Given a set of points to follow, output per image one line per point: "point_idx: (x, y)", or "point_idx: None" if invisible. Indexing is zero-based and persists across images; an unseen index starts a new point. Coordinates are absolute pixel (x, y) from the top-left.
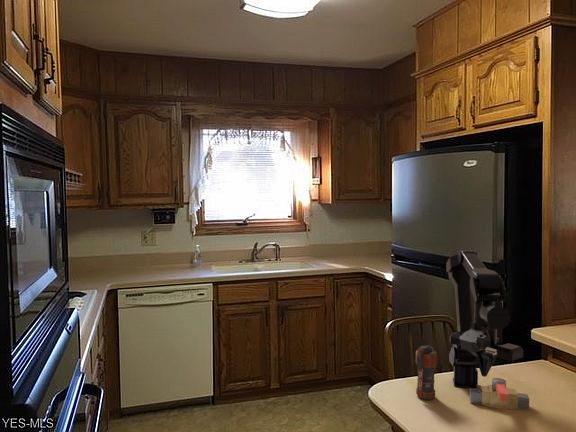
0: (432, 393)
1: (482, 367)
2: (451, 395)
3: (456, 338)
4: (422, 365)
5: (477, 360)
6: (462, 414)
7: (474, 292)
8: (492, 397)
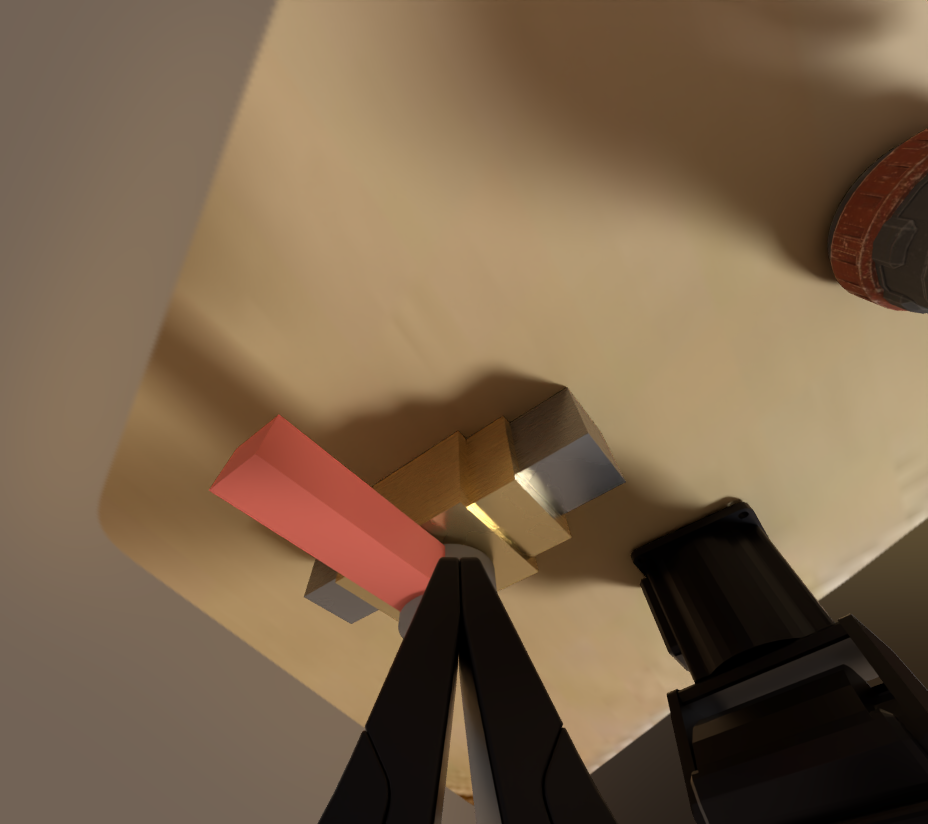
0: (877, 210)
1: (469, 679)
2: (717, 392)
3: None
4: None
5: (578, 815)
6: (513, 165)
7: None
8: (446, 480)
